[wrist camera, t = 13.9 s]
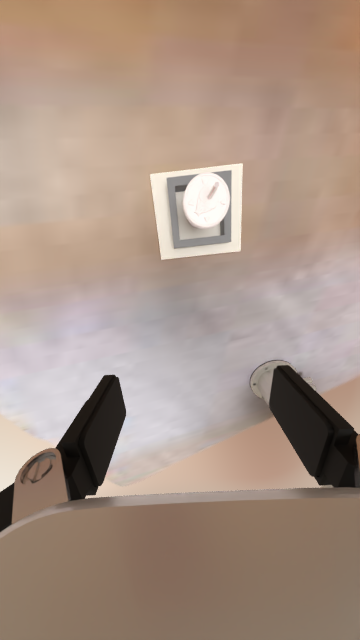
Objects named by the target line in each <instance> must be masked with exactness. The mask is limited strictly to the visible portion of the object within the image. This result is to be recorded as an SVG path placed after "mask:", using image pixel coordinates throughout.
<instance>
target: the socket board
mask: <svg viewBox="0 0 360 640" xmlns="http://www.w3.org/2000/svg"><path fill="white" fill-rule="evenodd" d="M242 167H243V163H241V164H233V165H224V166H216V167H207V168H199V169H190V170H182V171H174V172H165V173H157V174H150V179H151V186H152V194H153V201H154V209H155V216H156V223H157V231H158V238H159V246H160V253H161V260H164V259H173V258H182V257H191V256H201V255H210V254H219V253H228V252H237V251H241V212H242ZM205 172H210V173H214V174H217V175H218V176H220V177H221V178H222V179H223V180H224V181H225V183H226V184H227V186H228V189H229V193H230V204H229V208H228V211H227V213H226V215H225V217H224V218H223V219H222V221H221V222H220V223H219V224H217V225H216V226H214V227H212V228H209V229H200V228H195V227H193V226H192V225H191V224H190V222H189V221H188V220H187V218H186V216H185V214H184V210H183V196H184V192H185V190H186V187H187V185H188V184H189V182H190V181H191V180H192V179H193V178H194V177H195V176H197V175H199V174H201V173H205Z"/></svg>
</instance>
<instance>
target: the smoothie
mask: <svg viewBox="0 0 360 640" xmlns="http://www.w3.org/2000/svg"><path fill="white" fill-rule="evenodd" d="M229 204H230V193H229V189H228V186H227V184H226V183H225V181H224V180H223V179H222V178H221V177H220V176H218V175H217V174H214V173H210V172H205V173H201V174H199V175H197V176H195V177H194V178H193V179H192V180H191V181H190V182H189V184H188V185H187V187H186V190H185V192H184V196H183V210H184V214H185V216H186V218H187V220H188V221H189V222H190V224H191V225H192V226H193V227H195V228H200V229H209V228H212V227H214V226H216V225H217V224H219V223H220V222H221V221H222V219H223V218H224V217H225V215H226V213H227V211H228V208H229Z"/></svg>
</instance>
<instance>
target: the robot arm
mask: <svg viewBox="0 0 360 640" xmlns="http://www.w3.org/2000/svg"><path fill="white" fill-rule="evenodd" d="M308 383H311V384H308ZM250 386H251V389H252V391H253V392H254V394H255V395H256V396H258V397H259V398H261V399H264V400H265V401H266V403H267V404H268V406H269V408H270V410H271V411H272V413H273V415H274V416H275V418H276V420H277V421H278V423H279V424H280V426H281V428H282V430H283V431H284V433H285V434H286V436H287V438H288V439H289V441H290V443H291V444H292V446H293V448H294V449H295V451H296V453H297V454H298V456H299V458H300V459H301V461H302V463H303V464H304V466H305V468H306V469H307V471H308V472H309V474H310V475H311V476H314V477H315V479H316V480H317V482H318V484H319V485H324V486H322V487H320V488H295V489H266V490H240V491H216V492H193V493H171V494H151V495H131V496H115V497H101V498H88V499H85V497H86V495H96V492H97V489H98V486H101V485H102V483H103V481H104V478H105V475H106V472H107V469H108V467H109V464H110V461H111V458H112V455H113V452H114V449H115V446H116V443H117V440H118V437H119V434H120V431H121V428H122V426H123V423H124V420H125V417H126V409H125V404H124V400H123V395H122V391H121V387H120V382H119V378H118V377H116V376H115V375H105V376H103V378H102V379H101V381H100V383H99V384H98V386H97V387H96V389H95V390H94V392H93V393H92V395H91V397H90V398H89V400H87V401H86V402H85V404H84V405H83V407H82V408H81V410H80V411H79V413H78V414H77V416H76V418H75V419H74V421H73V422H72V424H71V425H70V427H69V428H68V430H67V431H66V433H65V434H64V436H63V437H62V439H61V440H60V442H59V443H58V445H57V447H56V448H49V449H45V450H43V451H41V452H39V453H37V454H36V455H35V456H33V457H31V458H30V459H29V460H28V461H27V462H26V463H25V464H24V465H23V466H22V468H21V469H20V470H19V472H18V474H17V476H16V479H15V483H13V484H12V485H10V486H9V487H7V488H6V489H4V490H3V491H1V492H0V640H360V434H359V435H358V434H357V433H356V432H355V431H354V428H353V427H352V426H351V425H350V424H349V423H348V422H347V421H346V420H345V419H344V418H343V417H342V416H340V414H339V413H338V412H337V411H335V409H333V408H332V407H331V406H330V405H329V404H328V403H327V402H326V401H325V400H324V399H323V398H322V397H321V396H320V395H319V394H318V393H317V392H316V387H315V385H314V384H313V383H312V379H311V378H310V377H307V378H302V377H301V376H300V375H299V374H298V372H297V370H296V369H295V368H294V367H293V366H292V365H291V364H290V363H288V362H285V361H271V362H268V363H265V364H263V365H262V366H260V367H259V368H258V369H256V371H255V372H254V373H253V375H252V377H251V380H250Z"/></svg>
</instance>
